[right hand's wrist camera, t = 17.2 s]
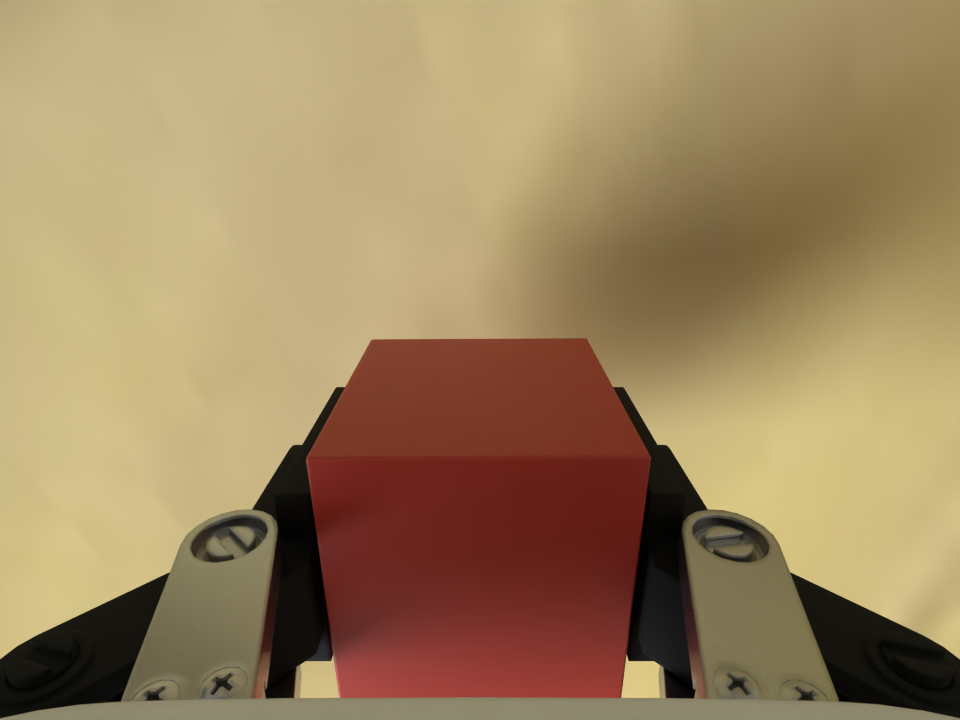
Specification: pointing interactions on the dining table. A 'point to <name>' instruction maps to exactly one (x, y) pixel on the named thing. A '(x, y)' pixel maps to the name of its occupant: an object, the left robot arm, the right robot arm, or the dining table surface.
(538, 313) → the dining table surface
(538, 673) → the block
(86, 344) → the dining table surface
